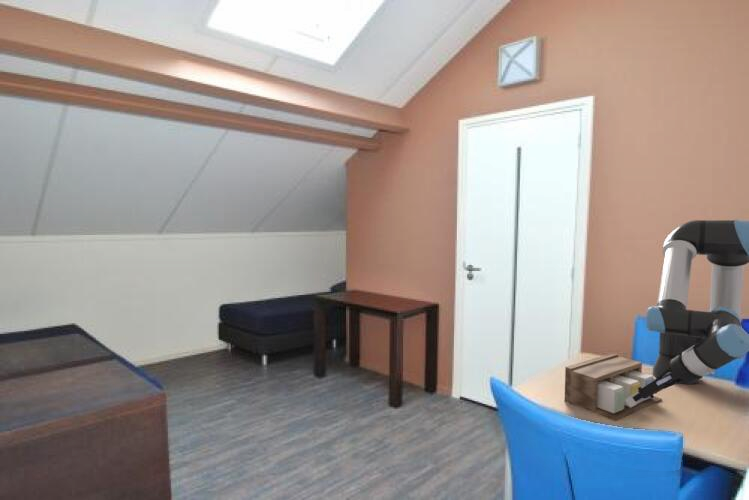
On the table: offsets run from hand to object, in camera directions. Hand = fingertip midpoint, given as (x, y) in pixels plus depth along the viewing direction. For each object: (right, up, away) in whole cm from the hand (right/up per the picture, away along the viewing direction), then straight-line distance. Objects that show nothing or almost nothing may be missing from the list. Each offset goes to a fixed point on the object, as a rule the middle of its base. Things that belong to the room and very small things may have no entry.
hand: (628, 403), depth 140 cm
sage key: (-3, -4, +6) cm, 8 cm away
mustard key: (+4, -3, +11) cm, 12 cm away
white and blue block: (+12, -3, +15) cm, 20 cm away
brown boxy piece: (+3, -4, +13) cm, 14 cm away
